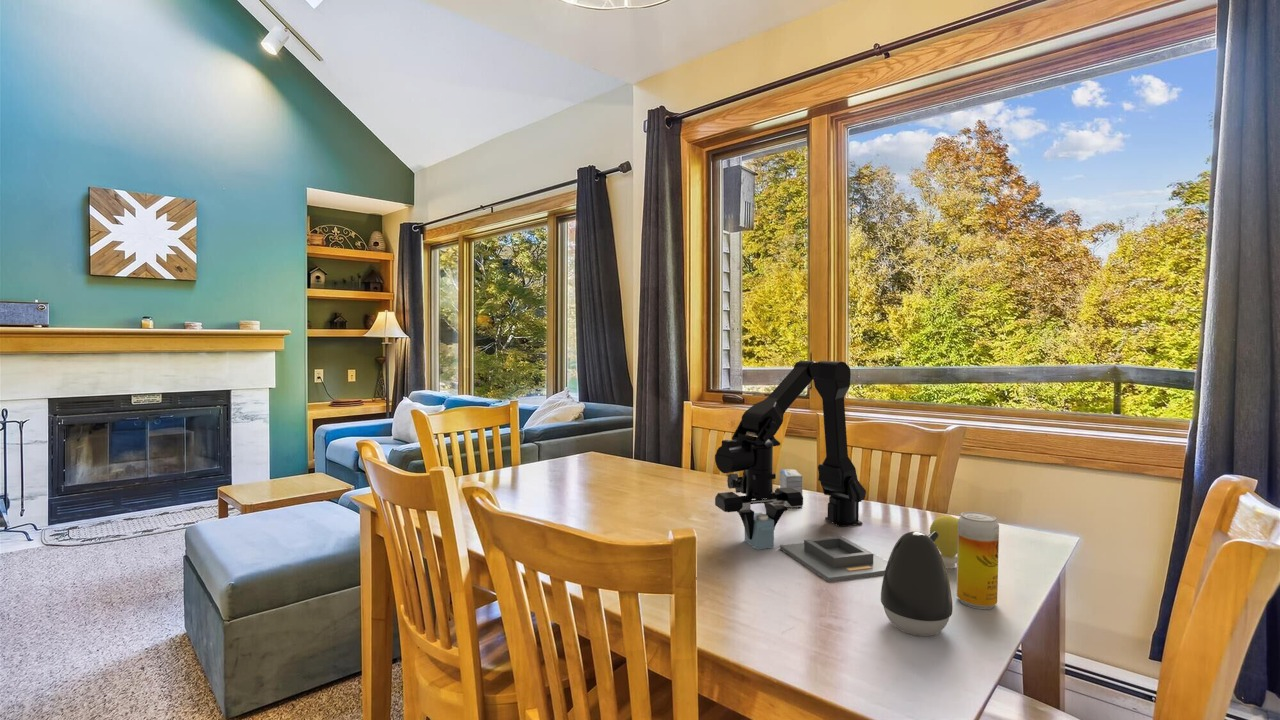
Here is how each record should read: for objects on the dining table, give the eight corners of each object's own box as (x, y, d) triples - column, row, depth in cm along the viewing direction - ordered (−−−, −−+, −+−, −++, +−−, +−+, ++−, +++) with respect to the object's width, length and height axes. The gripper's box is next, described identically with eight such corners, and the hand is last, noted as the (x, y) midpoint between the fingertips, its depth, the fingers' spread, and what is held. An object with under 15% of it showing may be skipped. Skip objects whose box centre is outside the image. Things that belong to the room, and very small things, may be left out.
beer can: (996, 614, 99) (998, 523, 98) (955, 605, 102) (956, 517, 101) (997, 600, 104) (999, 514, 103) (957, 592, 107) (959, 508, 106)
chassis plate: (844, 541, 133) (845, 529, 133) (901, 572, 116) (901, 558, 116) (780, 548, 129) (780, 536, 129) (828, 582, 111) (828, 567, 111)
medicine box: (802, 508, 159) (803, 475, 159) (785, 508, 159) (786, 475, 159) (795, 500, 167) (796, 469, 167) (779, 500, 167) (779, 469, 167)
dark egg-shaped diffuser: (966, 632, 93) (968, 535, 92) (927, 651, 87) (929, 548, 86) (905, 607, 101) (907, 518, 100) (866, 623, 95) (867, 529, 95)
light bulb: (965, 563, 121) (967, 513, 120) (968, 575, 114) (969, 523, 114) (928, 558, 123) (929, 509, 123) (929, 569, 117) (930, 519, 117)
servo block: (758, 537, 136) (758, 507, 136) (776, 549, 128) (776, 518, 128) (742, 538, 135) (742, 508, 135) (759, 551, 127) (759, 519, 127)
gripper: (779, 457, 141) (778, 523, 142) (705, 462, 136) (705, 530, 137) (804, 467, 131) (804, 538, 131) (725, 473, 125) (725, 547, 126)
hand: (758, 538), depth 132 cm, fingers closed on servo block, 4 cm apart
